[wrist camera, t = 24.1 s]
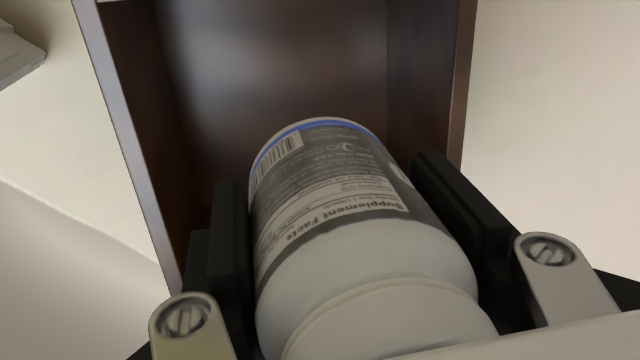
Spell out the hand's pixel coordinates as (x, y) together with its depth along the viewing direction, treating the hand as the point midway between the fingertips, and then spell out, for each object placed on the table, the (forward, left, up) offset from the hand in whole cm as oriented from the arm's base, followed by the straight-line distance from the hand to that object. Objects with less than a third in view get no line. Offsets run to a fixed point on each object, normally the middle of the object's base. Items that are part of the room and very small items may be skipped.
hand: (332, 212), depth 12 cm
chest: (+1, 0, -16) cm, 16 cm away
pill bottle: (0, 0, -2) cm, 2 cm away
